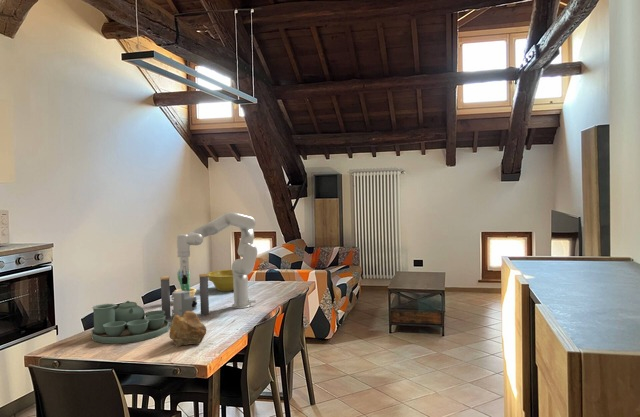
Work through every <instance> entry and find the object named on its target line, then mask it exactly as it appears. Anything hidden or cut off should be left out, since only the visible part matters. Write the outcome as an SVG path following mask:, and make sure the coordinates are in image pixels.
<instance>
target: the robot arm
mask: <svg viewBox="0 0 640 417" xmlns="http://www.w3.org/2000/svg"><path fill="white" fill-rule="evenodd" d="M230 226H234V227H237V228H239V231H240V233H241V234H240V240H239V244H238V248H237V254H238V256H239V257H241V258H236V259H234V261H233V262H232V265H231V270H232V272H233V281H234V290H233V304H232V305H231V308H233V309H245V308H250V307H251V306H252V304H255V303H256V299H250V298H249V278H248V275H251V273H252V272H253V270H254V269H255V264H256V260H257V256H258V249H257V247H256V245H255V244H254V238H255V232H254V228H255V227H256V220H255V218H254V217H252V216H249V215H245V214H241V213H238V212H226V213H224V214H222V215H219V216H218V217H217V218H215V219H213V220H212V221H210V222H207V223H206V224H203V225H201V226H199V227H197V228H195V229H194V230H191V231H190V232H189V233H183V234H180V233H179V234H177V235H176V245H177V246H176V249H177V251H176V253H177V258H179V269H180V270H181V273H182V284H187V272H188V273H189V270H190V261H189V260H190V259H189V257H191V246H201V245H202V243H204V238H206V237H209V236H214V235H217V234H219V233H220V232H222V231H224V230H225V229H227V228H229V227H230Z"/></svg>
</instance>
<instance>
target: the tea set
mask: <svg viewBox="0 0 640 417" xmlns="http://www.w3.org/2000/svg"><path fill="white" fill-rule="evenodd" d="M91 309H92V310H93V329H91V331H90V332H91V339H92V340H93V341H94V342H98V343H102V344H127V343H134V342H141V341H145V340H149V339H153V338H158V337H159V336H161V335H163V334H164V333H167V332H168V330H169V328H170V321H169V320H168V319H165V316H164V314H165V311H162V309H161V310H158V309H157V310H150V311H147V312H145V310H144V309H143V307H142V306H140V305H138V303H137V302H135V301H130V300H126V301H125V302H122V303H120V304H119V305H118V304H115V303H102V304H96V305H93V306H92V307H91Z"/></svg>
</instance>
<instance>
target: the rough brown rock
mask: <svg viewBox="0 0 640 417" xmlns="http://www.w3.org/2000/svg"><path fill="white" fill-rule="evenodd" d="M172 318H173V319H172V321H171V325H170V327H169V328H170V329H169V338H170V339H171V340H172V341H173V344H174V345H175V346H176V347H180V346H183V345H184V346H187V345H189V344H192V345H197V346H198V345H199V344H201V343H202V341H203V339H204V337H205V336H206V335H207V327H206V325H204V324H203V323H202V321H201V319H200V318H199V316H198V315H197V313H196V312H194V311H186V312H184V314H183V316H182V317H180V316H178V315H175V316H174V317H172Z"/></svg>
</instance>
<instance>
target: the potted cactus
mask: <svg viewBox="0 0 640 417" xmlns="http://www.w3.org/2000/svg"><path fill="white" fill-rule="evenodd" d="M177 280H178V282H179V285H180V288H177V289H175V290H174V291H173V292H176V291H189V292H190V297H195V294H196V292H197V289H196V288H192V287H191V283H190V282H191V281H190V280H191V271H190V269H189V273H188V272H187V284H182V273H181V270H180V268H179V269H178V271H177Z"/></svg>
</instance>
